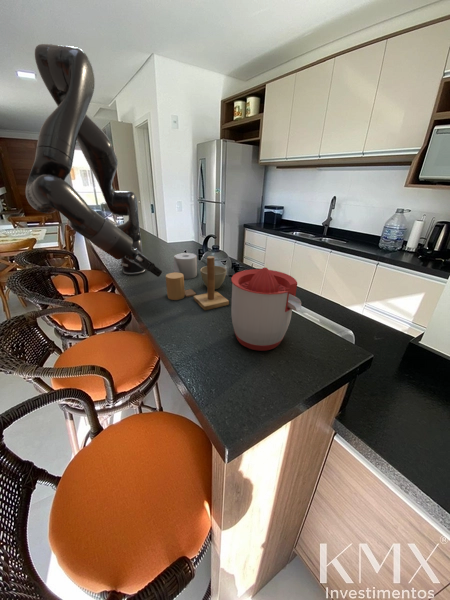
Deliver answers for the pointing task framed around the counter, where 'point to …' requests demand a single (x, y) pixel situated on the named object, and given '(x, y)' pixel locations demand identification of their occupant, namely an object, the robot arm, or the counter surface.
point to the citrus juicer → (262, 307)
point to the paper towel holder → (211, 290)
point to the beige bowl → (219, 275)
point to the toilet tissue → (186, 265)
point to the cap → (177, 287)
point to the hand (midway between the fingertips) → (154, 270)
